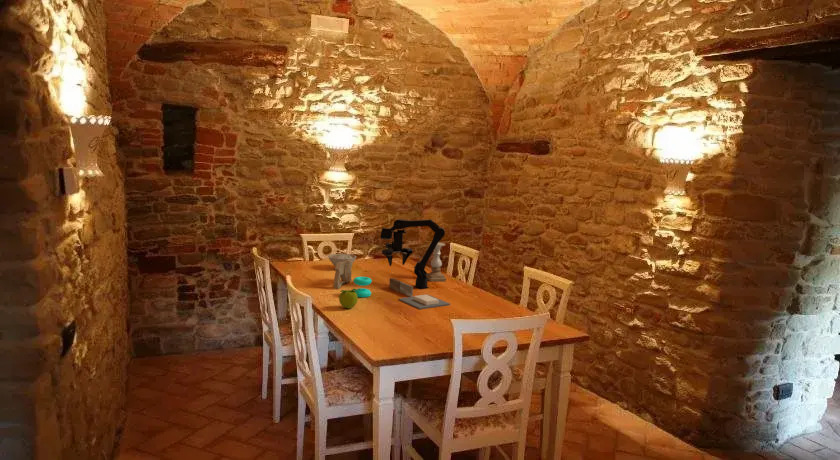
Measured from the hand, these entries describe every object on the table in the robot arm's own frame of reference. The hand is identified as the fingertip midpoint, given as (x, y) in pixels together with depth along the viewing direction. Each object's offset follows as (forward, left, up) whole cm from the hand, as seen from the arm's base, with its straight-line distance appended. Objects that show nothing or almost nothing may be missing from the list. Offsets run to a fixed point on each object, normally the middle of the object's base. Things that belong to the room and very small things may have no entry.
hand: (396, 265), depth 319 cm
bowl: (+9, -54, -13) cm, 56 cm away
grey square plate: (+6, +38, -12) cm, 40 cm away
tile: (+6, +34, -10) cm, 36 cm away
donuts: (+30, +12, -13) cm, 35 cm away
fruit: (+48, +30, -13) cm, 58 cm away
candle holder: (-33, -4, -13) cm, 36 cm away
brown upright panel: (+6, +15, -12) cm, 20 cm away
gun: (+28, -15, -13) cm, 34 cm away
